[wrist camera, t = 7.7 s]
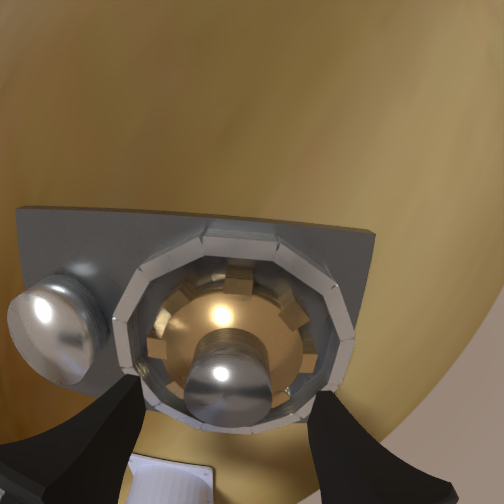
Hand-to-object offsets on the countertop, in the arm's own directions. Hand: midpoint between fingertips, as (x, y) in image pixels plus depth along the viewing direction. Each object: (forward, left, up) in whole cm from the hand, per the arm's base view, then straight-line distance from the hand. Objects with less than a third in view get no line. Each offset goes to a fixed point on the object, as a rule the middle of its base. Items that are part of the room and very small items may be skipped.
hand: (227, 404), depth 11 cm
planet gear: (0, 0, -5) cm, 5 cm away
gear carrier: (0, +3, -6) cm, 7 cm away
